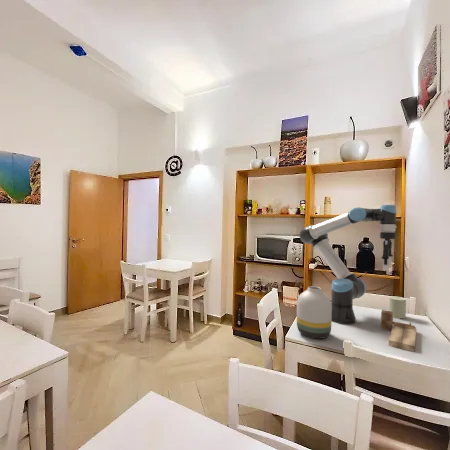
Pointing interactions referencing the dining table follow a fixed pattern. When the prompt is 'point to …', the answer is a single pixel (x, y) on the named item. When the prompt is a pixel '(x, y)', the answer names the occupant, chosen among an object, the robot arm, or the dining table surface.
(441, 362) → the dining table surface
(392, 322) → the brown wooden block
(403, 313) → the can
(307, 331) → the vase
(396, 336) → the board
